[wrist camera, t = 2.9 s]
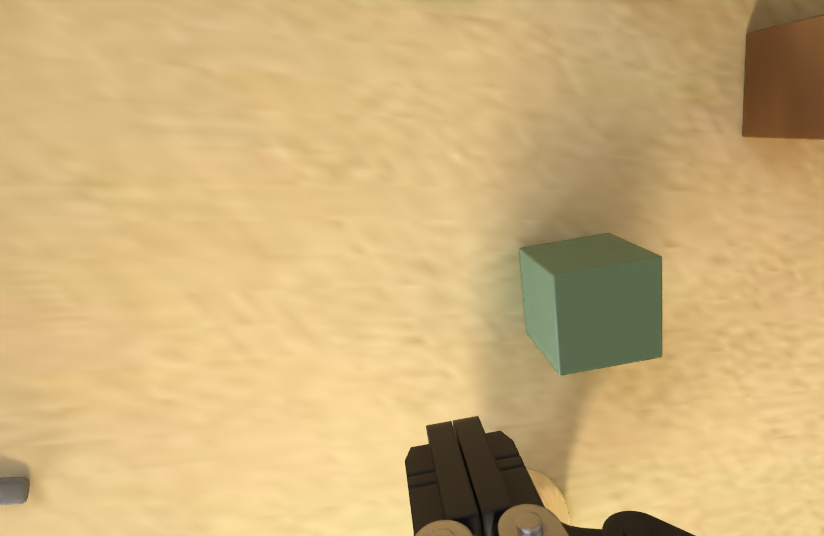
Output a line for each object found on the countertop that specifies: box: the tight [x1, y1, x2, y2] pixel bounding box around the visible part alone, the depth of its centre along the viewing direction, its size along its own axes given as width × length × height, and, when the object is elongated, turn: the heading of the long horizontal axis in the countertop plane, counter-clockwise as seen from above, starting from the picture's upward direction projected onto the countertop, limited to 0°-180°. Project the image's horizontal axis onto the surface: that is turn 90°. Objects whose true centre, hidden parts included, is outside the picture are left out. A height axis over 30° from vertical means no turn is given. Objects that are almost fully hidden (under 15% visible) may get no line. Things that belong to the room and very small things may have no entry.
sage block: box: [519, 233, 662, 375], centre depth 22 cm, size 4×4×4 cm
